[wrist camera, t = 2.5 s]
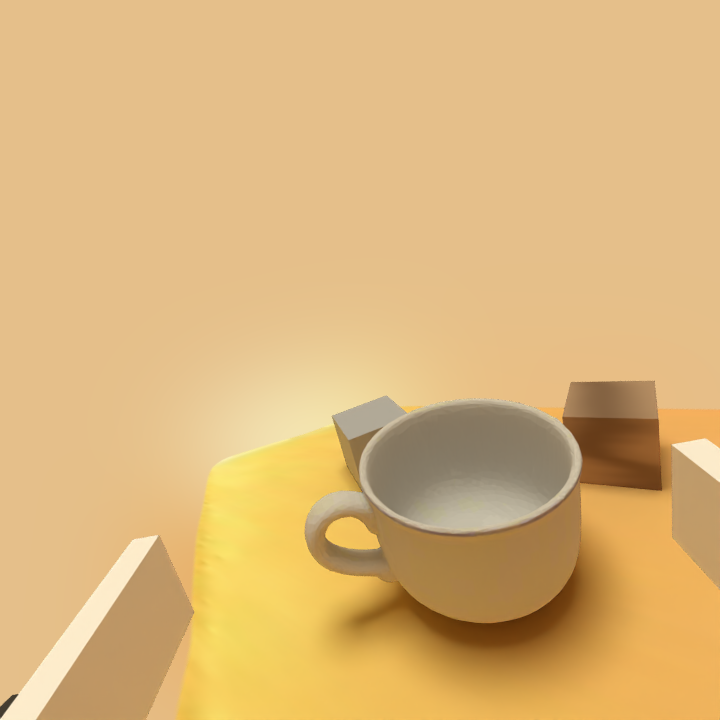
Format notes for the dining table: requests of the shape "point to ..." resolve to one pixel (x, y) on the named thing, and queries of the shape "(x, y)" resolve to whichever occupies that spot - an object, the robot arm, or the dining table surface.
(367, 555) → the teacup
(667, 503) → the dining table surface
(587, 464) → the walnut block
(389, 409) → the slate block
